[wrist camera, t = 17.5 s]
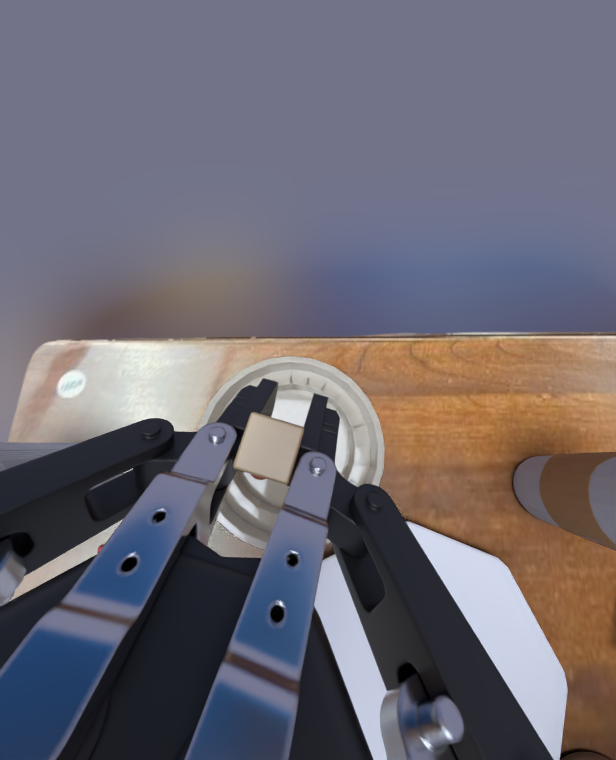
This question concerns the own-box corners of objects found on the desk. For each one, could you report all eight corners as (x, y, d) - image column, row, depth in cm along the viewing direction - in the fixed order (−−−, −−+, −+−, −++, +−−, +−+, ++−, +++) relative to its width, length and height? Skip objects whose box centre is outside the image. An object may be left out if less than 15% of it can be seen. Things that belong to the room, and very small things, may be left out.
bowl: (352, 363, 30) (363, 345, 25) (383, 515, 26) (403, 533, 21) (210, 383, 29) (190, 369, 24) (221, 544, 26) (199, 570, 20)
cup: (8, 518, 26) (-234, 577, 14) (63, 430, 28) (-109, 419, 16) (89, 556, 25) (-95, 653, 13) (139, 464, 27) (18, 477, 16)
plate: (235, 778, 21) (230, 802, 20) (333, 488, 27) (335, 491, 26) (521, 923, 20) (539, 961, 18) (564, 583, 25) (580, 592, 24)
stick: (301, 439, 24) (305, 427, 8) (295, 459, 23) (288, 485, 8) (282, 433, 24) (251, 410, 8) (276, 453, 23) (230, 467, 8)
